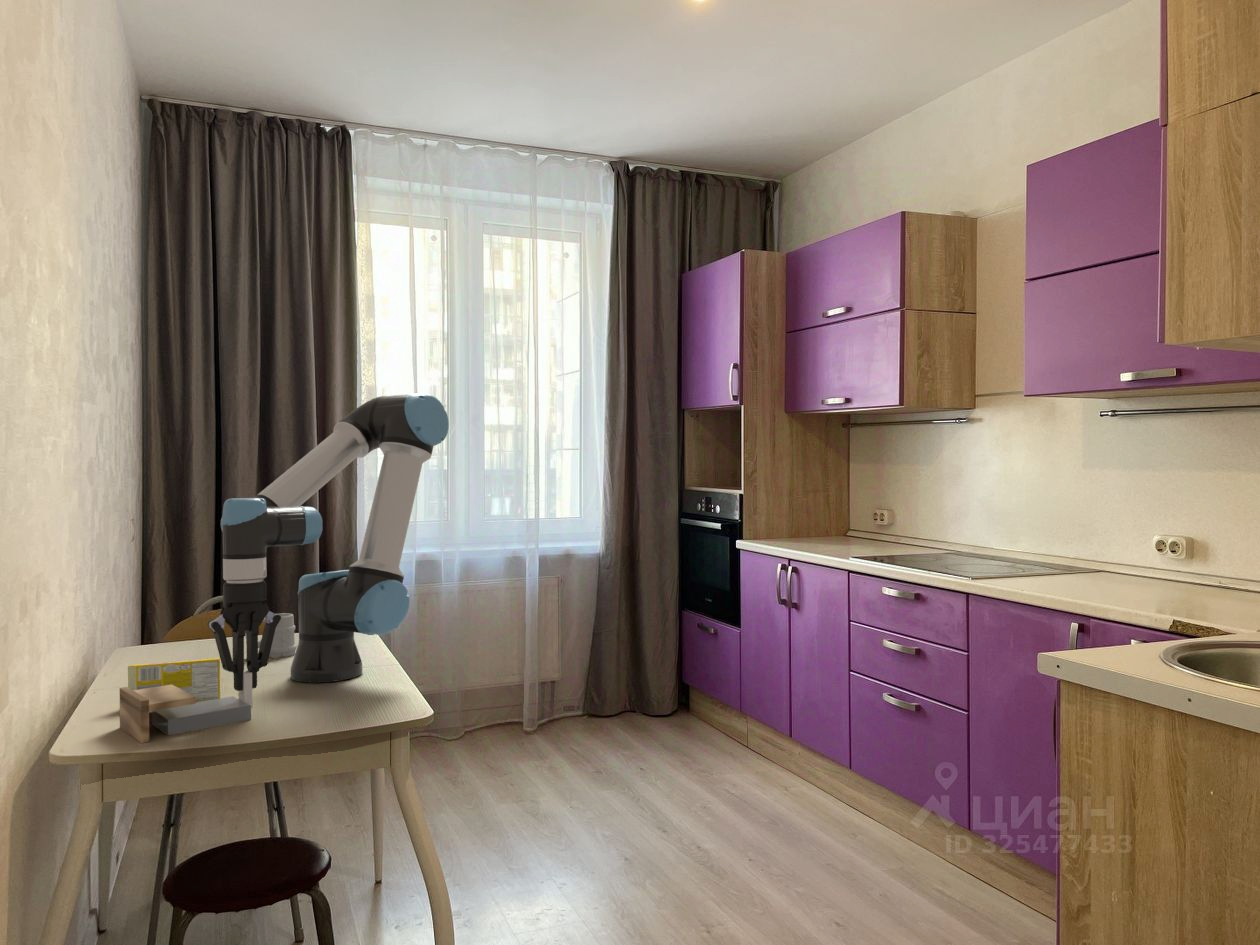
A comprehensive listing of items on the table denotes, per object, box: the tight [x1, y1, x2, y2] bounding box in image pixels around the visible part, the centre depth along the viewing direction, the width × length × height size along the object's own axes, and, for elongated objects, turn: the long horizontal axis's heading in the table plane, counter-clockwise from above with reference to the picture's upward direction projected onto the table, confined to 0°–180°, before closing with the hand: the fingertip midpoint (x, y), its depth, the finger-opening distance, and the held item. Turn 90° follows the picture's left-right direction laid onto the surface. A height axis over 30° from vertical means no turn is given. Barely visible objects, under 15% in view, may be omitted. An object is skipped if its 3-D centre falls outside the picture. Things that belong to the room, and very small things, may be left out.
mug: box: [244, 612, 298, 659], centre depth 223 cm, size 8×12×12 cm, turn 120°
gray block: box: [152, 696, 252, 736], centre depth 163 cm, size 14×9×3 cm, turn 133°
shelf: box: [119, 685, 196, 744], centre depth 158 cm, size 9×13×7 cm, turn 43°
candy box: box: [127, 657, 221, 702], centre depth 177 cm, size 16×2×8 cm, turn 110°
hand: (245, 706), depth 169 cm, fingers closed
